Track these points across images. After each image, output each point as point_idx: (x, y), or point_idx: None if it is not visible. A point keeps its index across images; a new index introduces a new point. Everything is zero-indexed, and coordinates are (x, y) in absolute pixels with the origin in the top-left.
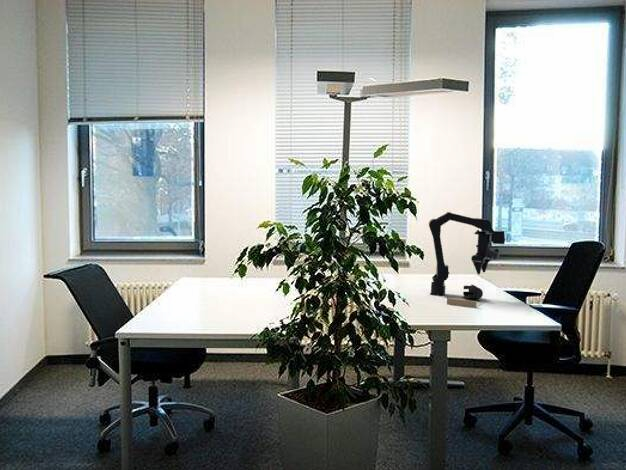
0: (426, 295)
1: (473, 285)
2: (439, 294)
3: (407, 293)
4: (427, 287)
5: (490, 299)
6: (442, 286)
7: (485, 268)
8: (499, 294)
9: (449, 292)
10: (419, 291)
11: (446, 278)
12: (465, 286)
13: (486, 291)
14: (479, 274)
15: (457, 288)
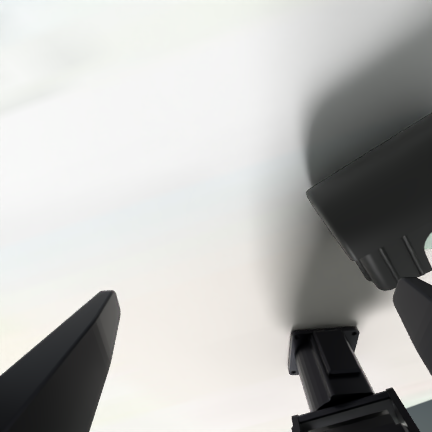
0: (371, 367)
1: (412, 228)
2: (351, 339)
3: None
4: (174, 417)
5: (309, 55)
6: (363, 374)
7: (83, 344)
8: (20, 66)
9: (226, 332)
10: (290, 406)
11: (393, 421)
12: (424, 272)
13: (2, 198)
14: (412, 278)
15: None
